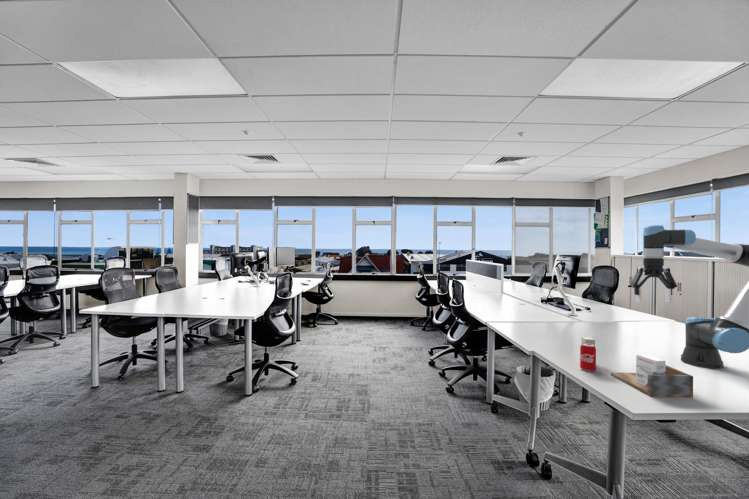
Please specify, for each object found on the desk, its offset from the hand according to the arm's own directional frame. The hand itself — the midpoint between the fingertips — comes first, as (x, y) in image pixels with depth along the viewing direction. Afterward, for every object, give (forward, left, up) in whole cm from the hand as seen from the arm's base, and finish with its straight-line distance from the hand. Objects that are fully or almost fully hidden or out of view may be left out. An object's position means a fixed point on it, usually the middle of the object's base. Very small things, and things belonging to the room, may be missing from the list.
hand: (653, 302), depth 157 cm
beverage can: (+33, +4, -32) cm, 46 cm away
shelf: (+18, +21, -32) cm, 42 cm away
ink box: (+21, +25, -31) cm, 45 cm away
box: (+28, -4, -32) cm, 43 cm away
